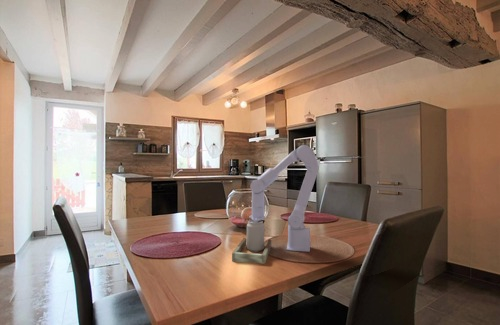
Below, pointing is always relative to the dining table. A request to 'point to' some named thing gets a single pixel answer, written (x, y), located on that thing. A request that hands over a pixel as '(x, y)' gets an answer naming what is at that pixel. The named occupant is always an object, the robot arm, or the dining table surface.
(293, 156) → the robot arm
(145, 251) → the dining table surface
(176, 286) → the dining table surface
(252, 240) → the can
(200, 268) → the dining table surface
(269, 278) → the dining table surface
